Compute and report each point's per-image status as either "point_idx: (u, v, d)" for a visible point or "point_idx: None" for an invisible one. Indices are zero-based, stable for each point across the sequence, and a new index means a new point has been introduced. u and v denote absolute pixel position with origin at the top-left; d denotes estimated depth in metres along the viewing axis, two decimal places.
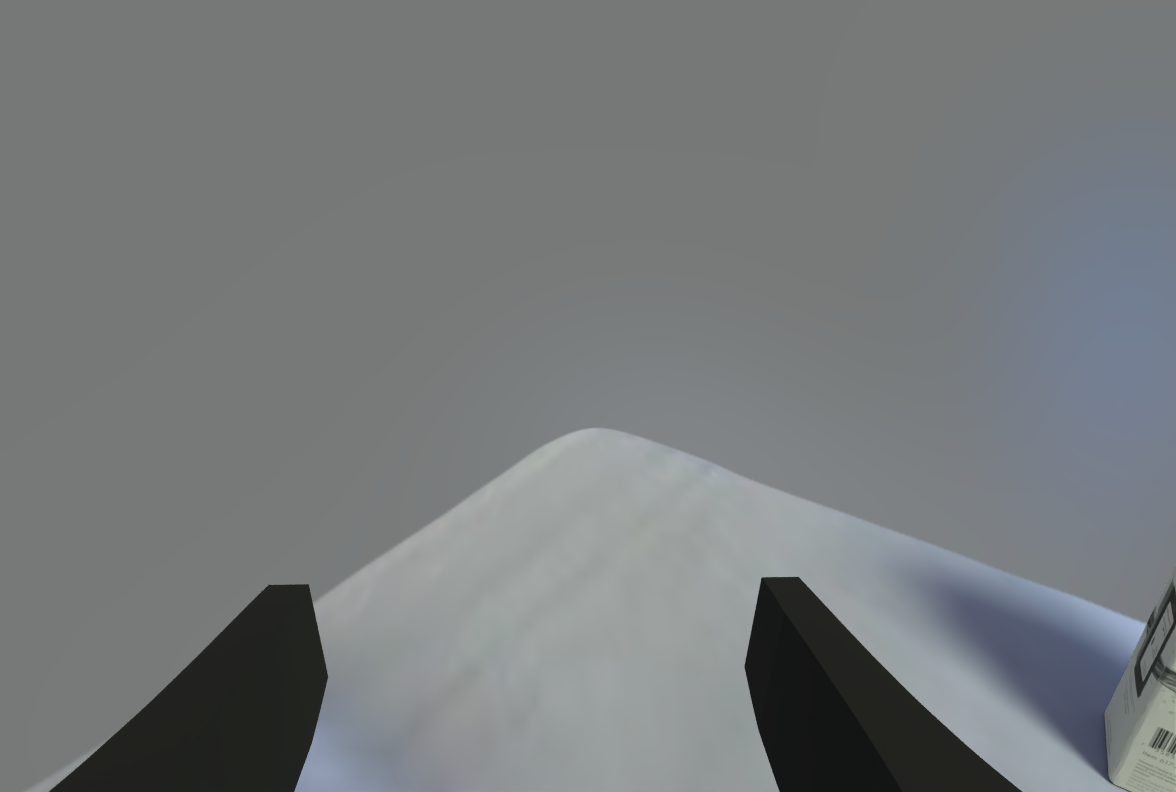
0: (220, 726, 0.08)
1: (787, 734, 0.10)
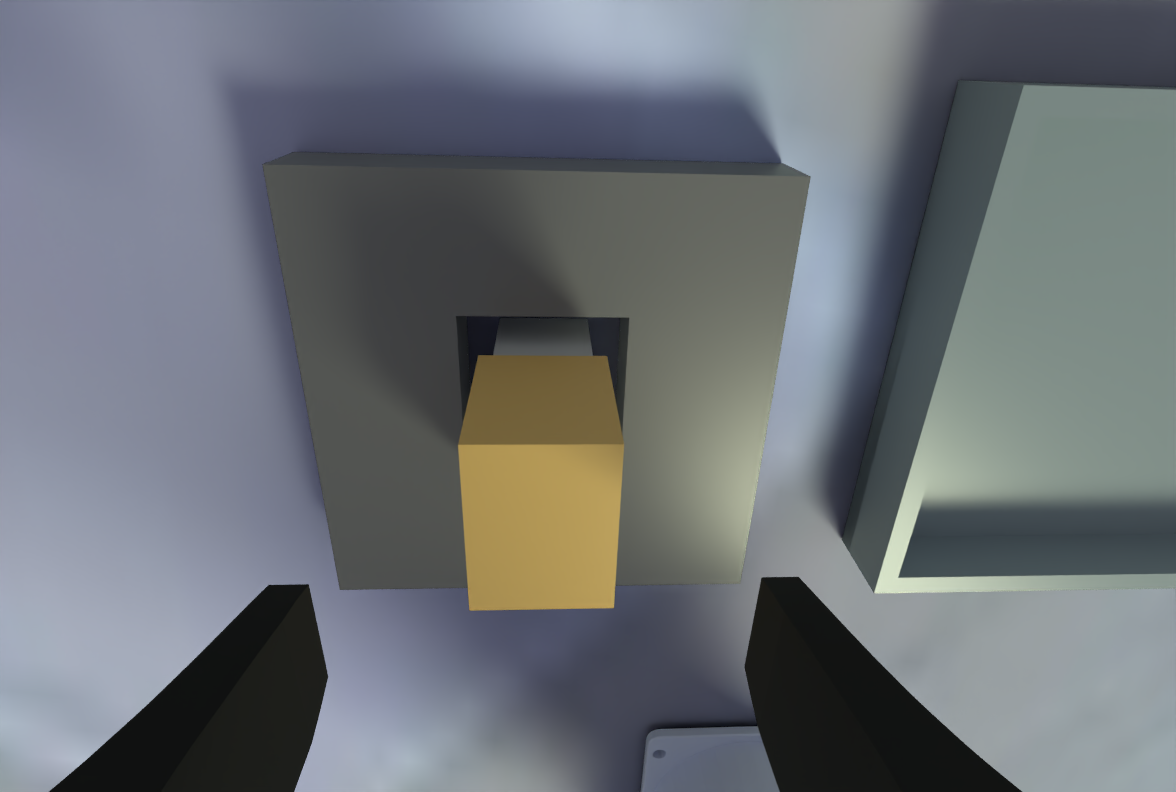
0: (220, 726, 0.08)
1: (787, 734, 0.10)
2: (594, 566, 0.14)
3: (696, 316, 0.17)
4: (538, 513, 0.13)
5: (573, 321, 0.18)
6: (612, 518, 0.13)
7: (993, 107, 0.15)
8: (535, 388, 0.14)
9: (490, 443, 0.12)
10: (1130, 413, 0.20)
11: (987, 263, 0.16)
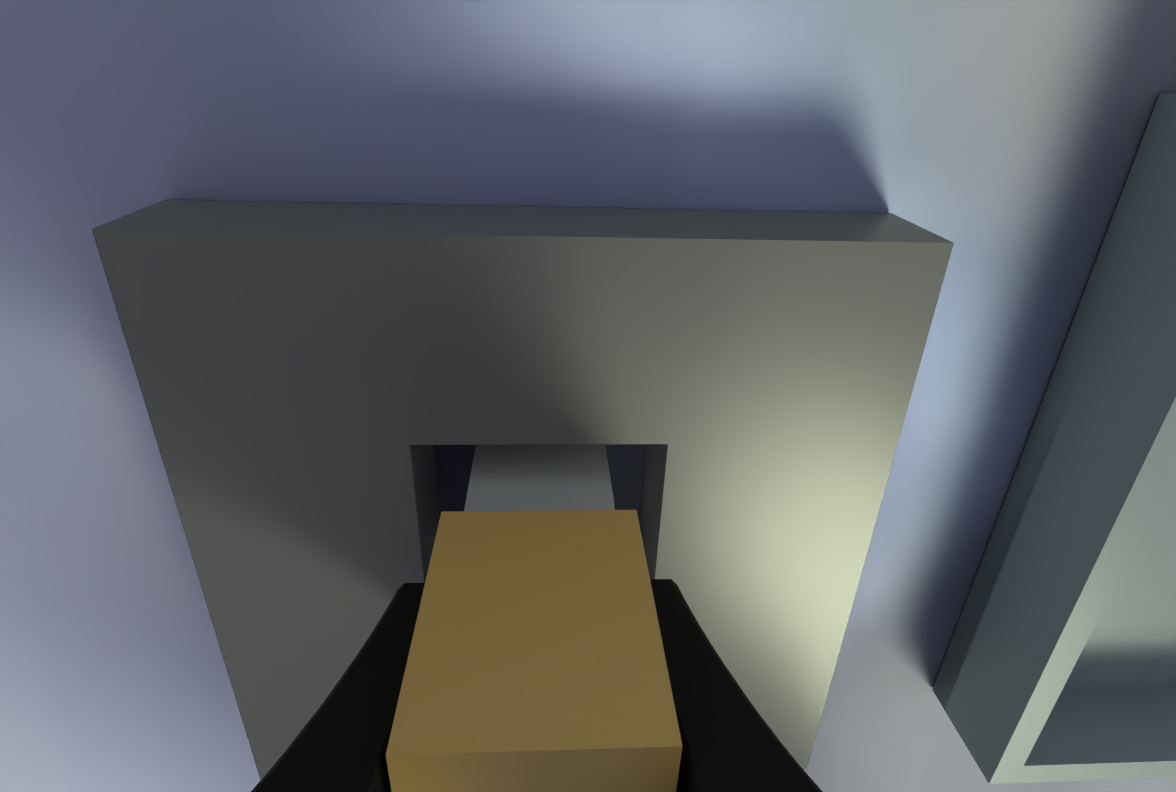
0: None
1: None
2: None
3: (766, 440, 0.11)
4: None
5: None
6: None
7: None
8: (527, 590, 0.09)
9: (443, 748, 0.07)
10: None
11: None
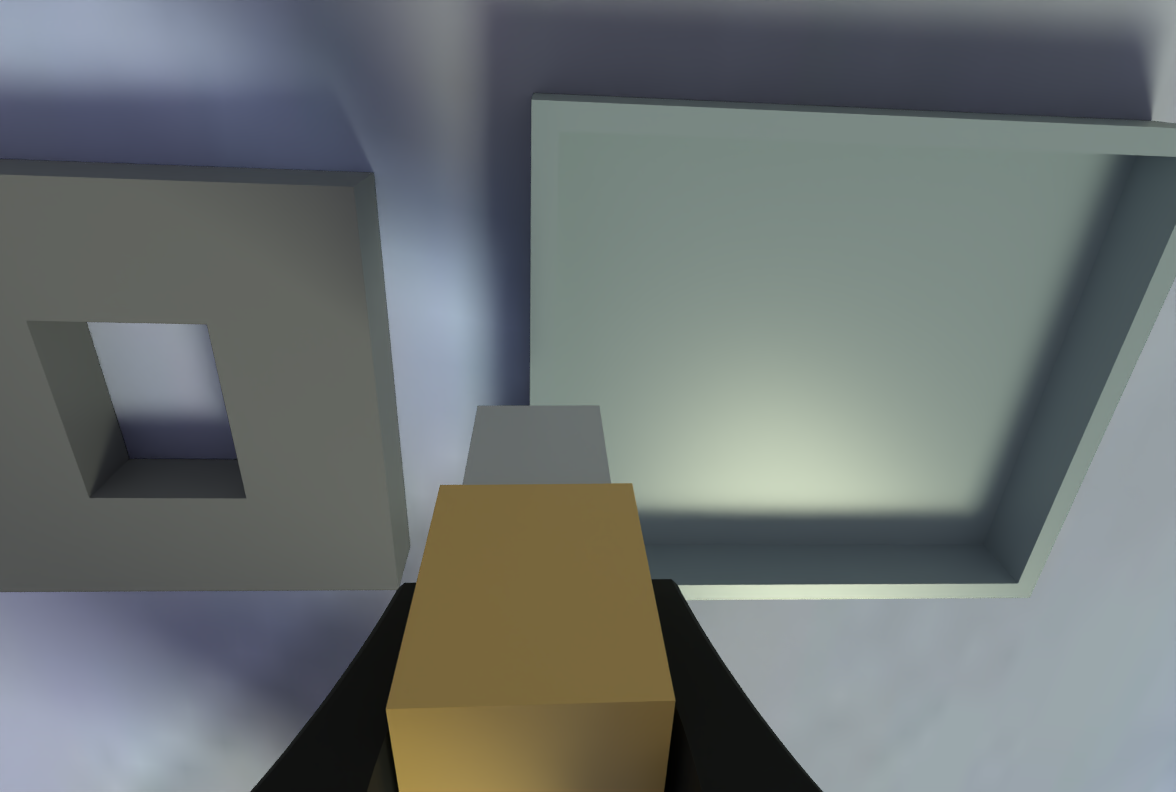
0: None
1: None
2: None
3: (279, 324, 0.17)
4: None
5: (580, 410, 0.13)
6: None
7: None
8: (524, 558, 0.09)
9: (442, 702, 0.07)
10: (782, 425, 0.20)
11: (548, 275, 0.16)
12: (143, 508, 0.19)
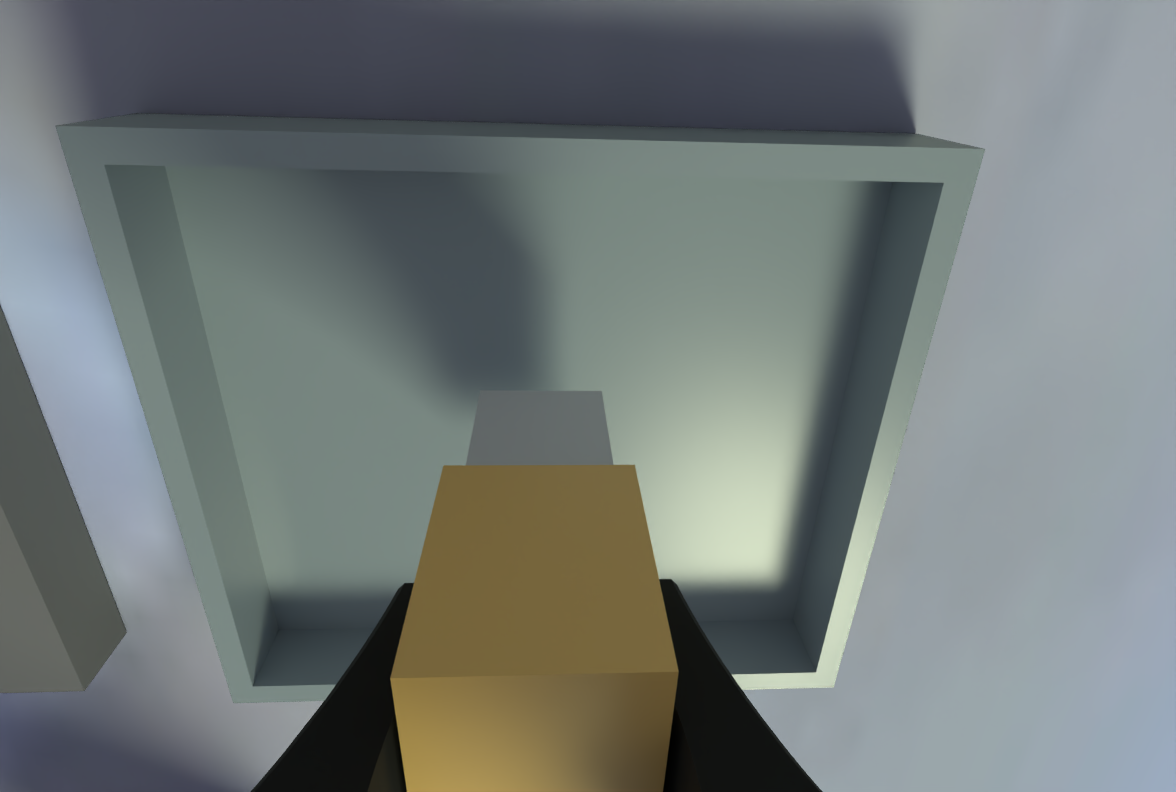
0: None
1: None
2: None
3: None
4: (531, 768, 0.08)
5: (582, 395, 0.13)
6: (653, 773, 0.08)
7: None
8: (527, 535, 0.09)
9: (445, 672, 0.07)
10: None
11: (144, 338, 0.13)
12: None
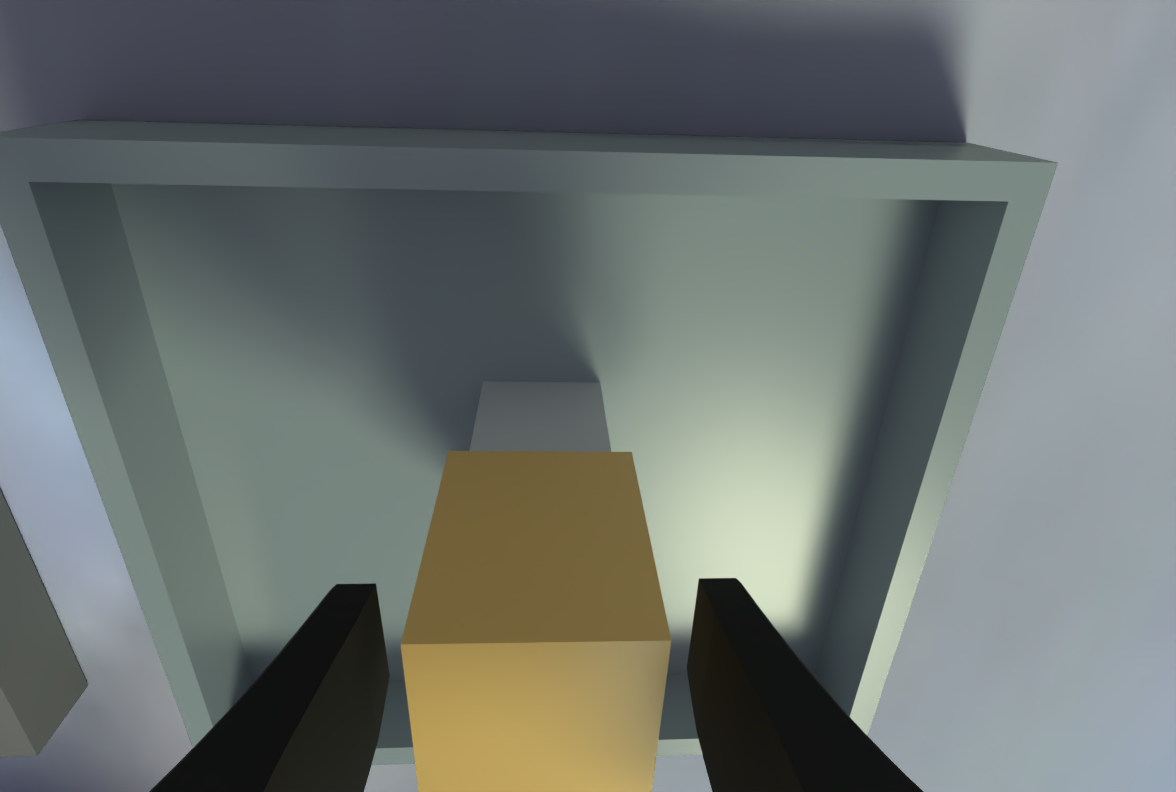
0: (309, 724, 0.08)
1: (718, 736, 0.10)
2: None
3: None
4: (531, 733, 0.08)
5: (581, 387, 0.14)
6: (647, 738, 0.08)
7: None
8: (529, 516, 0.09)
9: (453, 639, 0.07)
10: None
11: (85, 379, 0.11)
12: None
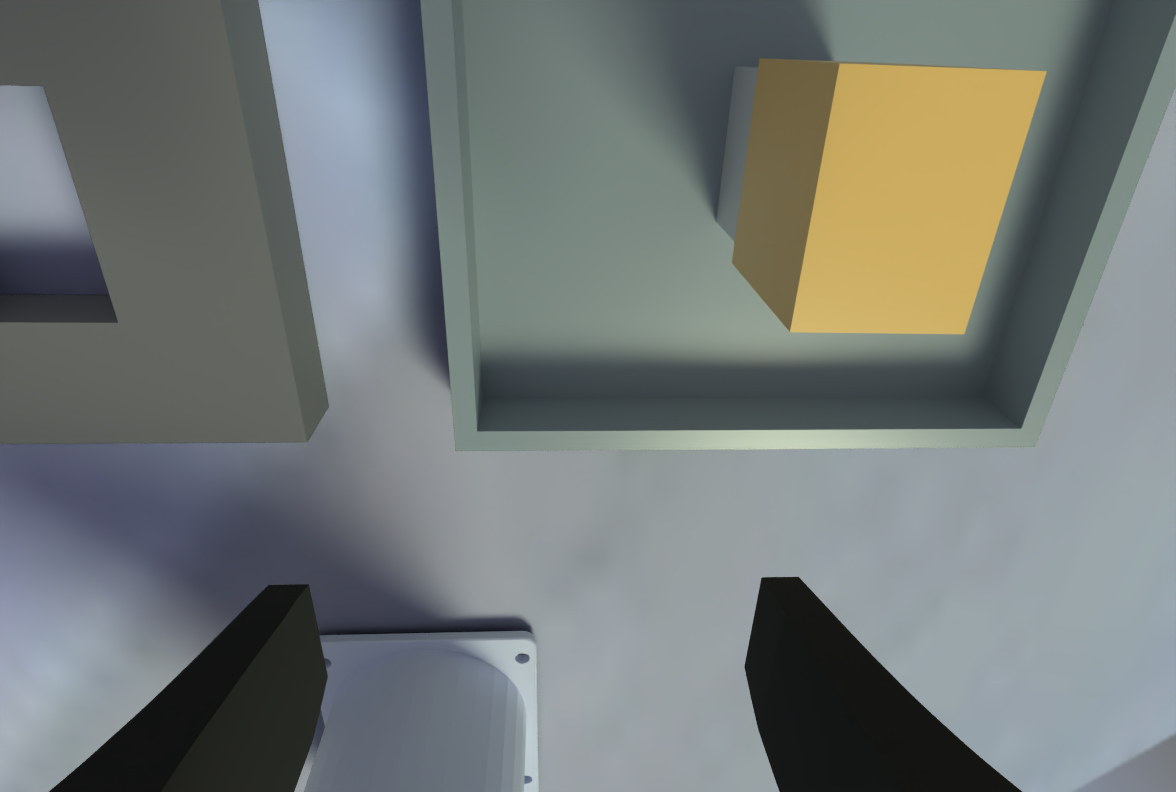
0: (220, 726, 0.08)
1: (787, 734, 0.10)
2: (958, 268, 0.11)
3: (131, 87, 0.14)
4: (911, 180, 0.10)
5: None
6: (1001, 191, 0.10)
7: None
8: None
9: (878, 65, 0.09)
10: None
11: (442, 7, 0.13)
12: (0, 336, 0.16)
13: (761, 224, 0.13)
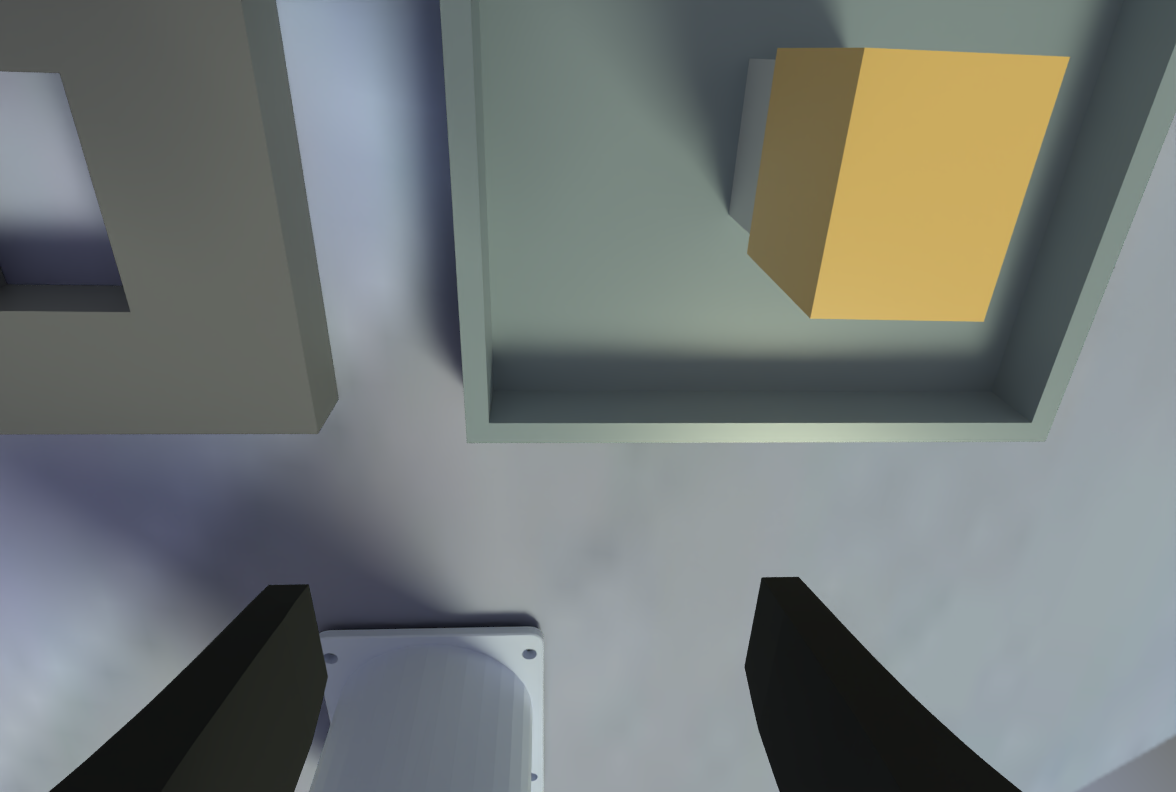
0: (220, 726, 0.08)
1: (787, 734, 0.10)
2: (979, 254, 0.11)
3: (147, 75, 0.14)
4: (934, 166, 0.10)
5: None
6: (1022, 178, 0.10)
7: None
8: None
9: (902, 49, 0.09)
10: None
11: None
12: (12, 325, 0.16)
13: (779, 213, 0.13)
